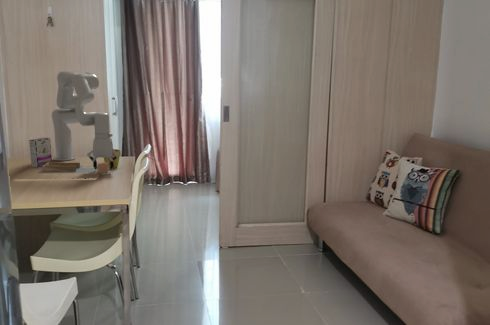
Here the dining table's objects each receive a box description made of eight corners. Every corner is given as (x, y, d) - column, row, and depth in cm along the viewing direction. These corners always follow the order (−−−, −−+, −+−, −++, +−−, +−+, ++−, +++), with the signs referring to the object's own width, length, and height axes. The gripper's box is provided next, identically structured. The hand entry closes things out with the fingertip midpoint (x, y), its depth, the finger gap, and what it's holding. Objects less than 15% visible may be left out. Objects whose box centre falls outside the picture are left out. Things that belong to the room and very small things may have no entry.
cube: (99, 171, 238) (99, 162, 237) (109, 171, 239) (109, 162, 238) (98, 173, 233) (97, 164, 232) (107, 173, 234) (107, 164, 233)
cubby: (48, 168, 242) (47, 162, 241) (80, 167, 244) (79, 162, 244) (42, 171, 232) (42, 166, 232) (75, 171, 235) (75, 165, 234)
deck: (47, 168, 247) (47, 166, 246) (100, 167, 251) (100, 165, 250) (36, 175, 229) (36, 173, 229) (94, 174, 233) (94, 172, 233)
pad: (98, 172, 240) (98, 170, 240) (111, 171, 241) (111, 170, 241) (96, 174, 233) (96, 173, 233) (109, 174, 234) (109, 173, 234)
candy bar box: (45, 165, 256) (43, 137, 253) (52, 165, 254) (50, 137, 251) (30, 168, 246) (28, 139, 243) (37, 169, 244) (35, 140, 241)
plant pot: (115, 169, 247) (115, 152, 246) (99, 168, 250) (98, 151, 248) (124, 165, 257) (123, 149, 256) (108, 165, 259) (107, 148, 258)
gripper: (120, 135, 238) (121, 167, 241) (86, 135, 235) (88, 167, 239) (118, 137, 231) (119, 169, 234) (83, 137, 228) (85, 170, 231)
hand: (103, 168), depth 236 cm, fingers open, 7 cm apart
